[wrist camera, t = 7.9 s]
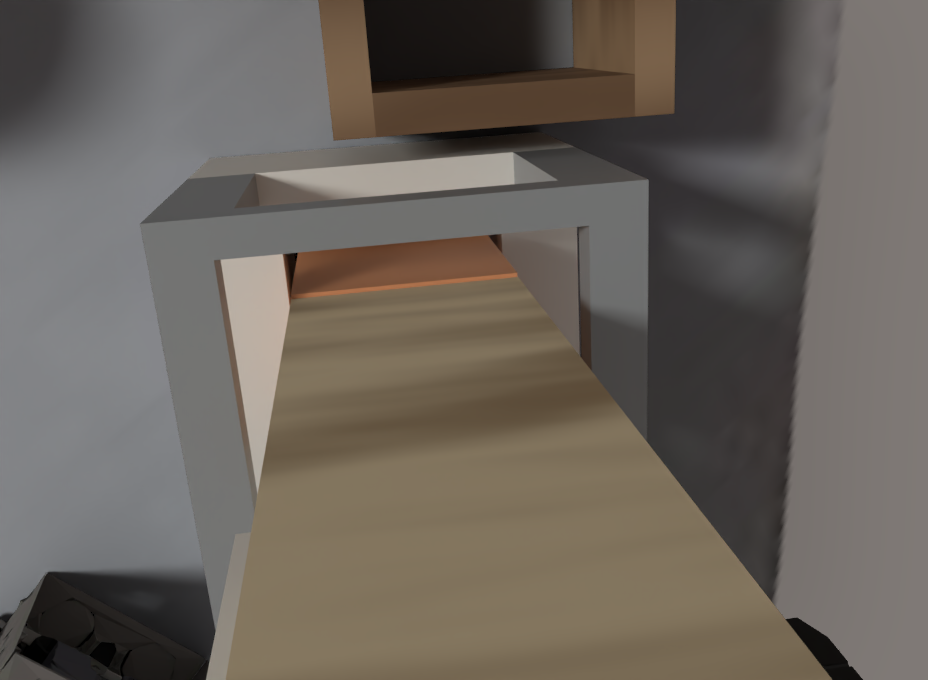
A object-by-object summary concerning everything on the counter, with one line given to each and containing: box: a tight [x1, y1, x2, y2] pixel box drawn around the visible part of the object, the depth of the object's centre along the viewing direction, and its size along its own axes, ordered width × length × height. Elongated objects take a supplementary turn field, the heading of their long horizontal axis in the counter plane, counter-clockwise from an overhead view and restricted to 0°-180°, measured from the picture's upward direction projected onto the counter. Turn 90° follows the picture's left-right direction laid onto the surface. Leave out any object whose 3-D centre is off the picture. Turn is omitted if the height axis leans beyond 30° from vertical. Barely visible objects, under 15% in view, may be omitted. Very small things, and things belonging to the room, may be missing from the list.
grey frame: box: [140, 132, 649, 631], centre depth 30 cm, size 20×12×12 cm, turn 4°
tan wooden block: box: [226, 277, 832, 680], centre depth 15 cm, size 6×6×20 cm
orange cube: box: [291, 235, 517, 299], centre depth 27 cm, size 6×6×6 cm
